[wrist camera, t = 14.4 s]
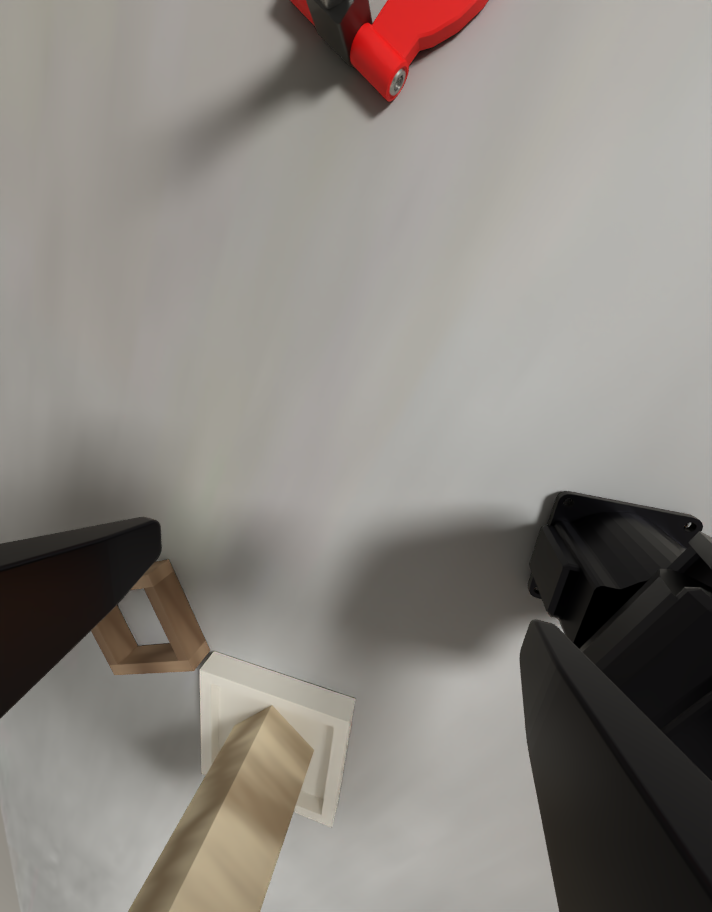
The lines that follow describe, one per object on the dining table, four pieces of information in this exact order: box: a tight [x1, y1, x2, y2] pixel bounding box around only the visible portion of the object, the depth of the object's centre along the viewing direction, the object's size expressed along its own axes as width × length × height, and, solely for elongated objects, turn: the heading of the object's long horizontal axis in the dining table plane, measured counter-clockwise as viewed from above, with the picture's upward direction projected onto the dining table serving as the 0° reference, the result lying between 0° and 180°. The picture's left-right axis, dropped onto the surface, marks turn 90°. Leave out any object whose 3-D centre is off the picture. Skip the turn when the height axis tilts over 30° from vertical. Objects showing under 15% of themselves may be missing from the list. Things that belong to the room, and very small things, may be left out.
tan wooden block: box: [128, 705, 314, 912], centre depth 23 cm, size 5×5×13 cm
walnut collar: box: [91, 559, 210, 675], centre depth 28 cm, size 8×8×2 cm
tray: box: [200, 651, 355, 828], centre depth 29 cm, size 12×12×2 cm
